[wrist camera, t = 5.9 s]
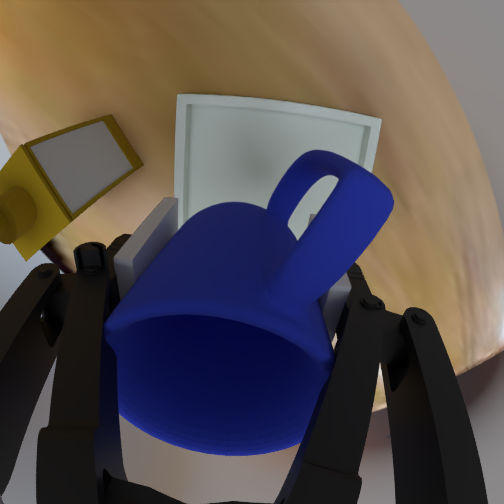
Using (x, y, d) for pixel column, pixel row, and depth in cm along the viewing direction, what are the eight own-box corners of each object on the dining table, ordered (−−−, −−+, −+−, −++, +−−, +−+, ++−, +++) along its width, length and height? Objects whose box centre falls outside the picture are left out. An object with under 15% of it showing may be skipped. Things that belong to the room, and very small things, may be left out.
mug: (383, 177, 15) (492, 285, 6) (261, 329, 20) (254, 471, 12) (248, 86, 14) (210, 74, 5) (147, 270, 19) (76, 401, 10)
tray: (184, 93, 29) (177, 94, 27) (373, 116, 29) (381, 119, 27) (180, 244, 38) (175, 255, 36) (341, 261, 38) (346, 273, 36)
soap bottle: (89, 78, 28) (-88, 115, 8) (143, 164, 33) (4, 286, 13) (51, 115, 30) (-107, 182, 10) (101, 195, 35) (-28, 319, 15)
